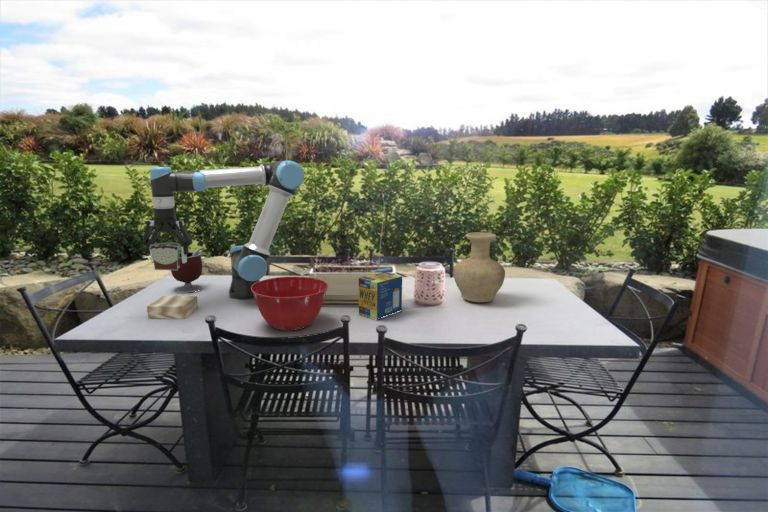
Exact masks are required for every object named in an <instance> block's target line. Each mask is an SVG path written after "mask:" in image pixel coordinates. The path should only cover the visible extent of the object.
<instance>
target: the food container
mask: <svg viewBox="0 0 768 512" xmlns="http://www.w3.org/2000/svg"><path fill="white" fill-rule="evenodd" d="M181 247H182V245H181V243H180V242H168V241H167V242H157V243H156V242H155V243H154V244H151V245H150V247H149V250H151V253H152V258H153V262H154V263H153V266H154V270H155V271H158V270H159V271H171V270H179V269H180V253H181Z"/></svg>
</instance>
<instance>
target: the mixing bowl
mask: <svg viewBox="0 0 768 512" xmlns="http://www.w3.org/2000/svg"><path fill="white" fill-rule="evenodd" d="M328 288H329V283H327V281H325V280H323V279H319V278H315V277H311V276H294V275H293V276H279V277H272V278H266V279H263V280H260V281H259V282H257V283H255V284H253V285H252V286H251V291H252V292H253V296H254V298H253V299H254V301H255V304H256V306H257V309H258V310H259V313H260V314H261V316H262V318H263V319H264V321H265V323H267V324H268V325H269V326H271V327H273V328H274V329H276V330H279V329H281V330H280V331H286V330H290V331H296V330H295V329H299V330H301V329H300V328H302V329H304V328H303V327H305V328H306V326H307V327H308V326H309V325H311V324H312V323H313V322H314V321H315V320H316V319H317V317H318V315H319V313H320V311H321V309H322V306H323V305H324V301H325V298H326V294H327V290H328Z"/></svg>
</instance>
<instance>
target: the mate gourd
mask: <svg viewBox="0 0 768 512" xmlns="http://www.w3.org/2000/svg"><path fill="white" fill-rule="evenodd" d="M202 249H204V246H200V247H199V248H197V249H196V250H194V251H188V254H187V255H186V256H187V262H186V263H182V255H181V252H180V269H179V270H170V271H171V275H172V277H173V278H174V279H175V280H176V281H179V282H182V283H184V285H181V286H177V287H175V288H174V293H176V292H178V293H177V294H190V293H189V292H193V293H196V292H195V291H198V290H200V291H202V290H203V286H202V285H198V284H192V283H193V282H194V281H196V280H198V279H199V278H200V277H201V275H202V273H203V260H202V256H201V253H200V251H201V250H202ZM201 289H202V290H201ZM198 292H199V291H198Z"/></svg>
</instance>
